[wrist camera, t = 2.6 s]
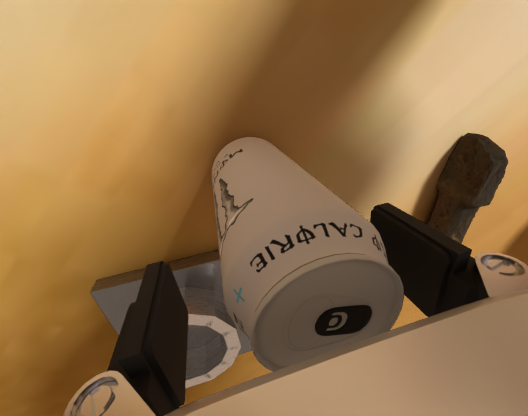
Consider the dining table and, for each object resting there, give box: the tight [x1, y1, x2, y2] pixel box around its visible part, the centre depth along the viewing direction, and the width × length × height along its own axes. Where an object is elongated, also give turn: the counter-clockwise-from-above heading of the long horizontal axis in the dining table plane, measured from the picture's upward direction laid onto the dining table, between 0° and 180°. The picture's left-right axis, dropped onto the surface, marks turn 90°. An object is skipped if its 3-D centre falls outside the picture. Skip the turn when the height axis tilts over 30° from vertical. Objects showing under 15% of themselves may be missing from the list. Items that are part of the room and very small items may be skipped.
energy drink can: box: [212, 137, 404, 372], centre depth 14 cm, size 6×6×15 cm
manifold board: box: [90, 250, 252, 388], centre depth 24 cm, size 23×14×4 cm, turn 98°
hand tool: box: [427, 133, 508, 243], centre depth 26 cm, size 19×4×5 cm, turn 176°
